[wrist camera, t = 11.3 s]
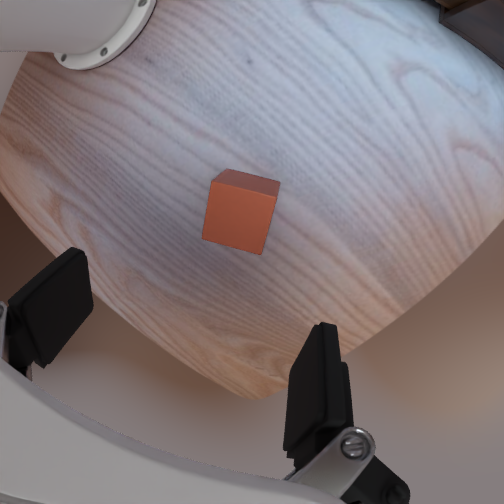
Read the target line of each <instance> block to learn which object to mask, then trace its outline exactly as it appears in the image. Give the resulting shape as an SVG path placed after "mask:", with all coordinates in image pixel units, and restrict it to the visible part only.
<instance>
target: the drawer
mask: <svg viewBox="0 0 504 504" xmlns="http://www.w3.org/2000/svg"><path fill="white" fill-rule="evenodd" d="M434 1H436V2H438V3H439V4H441V5H443V6H444V7H446V8H448V9H449V10H452V9H453V8H455V7H457V6H459V5H461V4H463V3H465V2H467V1H469V0H434Z"/></svg>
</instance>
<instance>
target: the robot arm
mask: <svg viewBox="0 0 504 504" xmlns="http://www.w3.org/2000/svg"><path fill="white" fill-rule="evenodd" d="M155 3H156V0H0V52H11V51H32V52H53V53H54V56H55V58H56V59H57V61H58V62H59V63H60V64H61V65H63V66H64V67H66V68H69V69H74V70H86V69H92V68H95V67H98V66H100V65H102V64H104V63H106V62H108V61H110V60H111V59H113V58H114V57H116V56H117V55H118V54H120V53H121V52H122V51H123V50H124V49H125V48H126V47H127V46H129V44H130V43H131V42H132V41H133V40H134V39H135V38H136V37H137V36H138V34H139V33H140V31H141V30H142V29H143V27H144V26H145V24H146V22H147V21H148V19H149V17H150V15H151V13H152V11H153V8H154V6H155ZM8 304H9V307H8V308H7V307H6V305H5V304H4V303H3V302H2V301H0V504H409V500H410V490H409V488H408V485H407V484H406V483H405V482H404V481H403V480H401V479H400V478H399V477H398V476H397V475H396V474H395V473H393V472H392V471H391V470H390V469H389V468H388V467H387V466H386V465H385V464H383V463H382V462H381V461H380V460H379V459H378V458H377V457H376V456H375V455H374V454H375V448H376V447H375V441H374V439H373V438H372V436H371V435H370V434H369V433H368V432H367V431H366V430H364V429H362V428H359V427H354V422H353V411H352V399H351V389H350V382H349V381H350V380H349V371H348V366H347V364H346V363H345V362H341V356H340V348H339V340H338V332H337V326H336V325H333V324H329V323H325V322H321V323H320V324H319V325H314V326H313V328H312V330H311V332H310V334H309V336H308V338H307V340H306V342H305V344H304V346H303V347H302V349H301V351H300V353H299V355H298V357H297V358H296V360H295V362H294V364H293V366H292V368H291V370H290V374H289V385H288V399H287V411H286V422H285V432H284V442H283V450H284V451H287V458H292V459H294V466H295V469H294V470H292V471H291V472H290V473H289V474H288V475H286V476H285V477H284V478H283V479H282V480H280V479H274V478H268V477H264V476H258V475H253V474H248V473H243V472H238V471H233V470H229V469H225V468H221V467H216V466H213V465H209V464H205V463H201V462H198V461H194V460H191V459H188V458H184V457H181V456H178V455H175V454H172V453H169V452H166V451H163V450H161V449H158V448H155V447H152V446H150V445H147V444H145V443H142V442H140V441H137V440H135V439H133V438H130V437H128V436H126V435H124V434H121V433H119V432H117V431H115V430H113V429H111V428H109V427H107V426H104V425H102V424H100V423H99V422H97V421H95V420H93V419H91V418H89V417H87V416H85V415H84V414H82V413H79V412H78V411H76V410H74V409H73V408H71V407H70V406H68V405H66V404H64V403H63V402H61V401H60V400H58V399H56V398H55V397H53V396H52V395H50V394H49V393H47V392H46V391H44V390H43V389H41V388H40V387H38V386H37V385H36V384H34V383H33V382H32V368H31V363H32V362H33V361H35V363H36V364H38V365H39V366H40V367H42V368H45V366H46V365H47V364H50V363H51V362H52V361H53V360H54V358H55V357H56V356H57V354H58V353H59V352H60V350H61V349H62V348H63V347H64V345H65V344H66V343H67V341H68V340H69V339H70V338H71V336H72V335H73V334H74V333H75V331H76V330H77V329H78V328H79V327H80V325H81V324H82V323H83V322H84V320H85V319H86V318H87V317H88V316H89V314H90V313H91V312H92V310H93V306H94V305H93V298H92V292H91V285H90V278H89V270H88V261H87V256H86V255H85V253H84V251H82V250H80V249H77V248H75V247H71V248H69V249H68V250H66V251H65V252H64V253H62V254H61V255H60V256H59V257H57V258H56V259H55V260H54V261H52V262H51V263H50V264H49V265H48V266H46V267H45V268H44V269H43V270H42V271H40V272H39V273H38V274H37V275H36V276H35V277H33V278H32V279H31V280H30V281H29V282H28V283H27V284H25V285H24V286H23V287H22V288H21V289H20V290H19V291H18V292H17V293H15V294H14V296H12V297H11V298H10V299H9V300H8Z"/></svg>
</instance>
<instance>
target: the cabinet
mask: <svg viewBox="0 0 504 504" xmlns="http://www.w3.org/2000/svg"><path fill="white" fill-rule="evenodd" d="M439 23H441V24H442V25H444V26H446V27H447V28H449V29H450V30H452V31H454V32H455V33H457V34H458V35H460V36H461V37H463V38H464V39H466V40H467V41H468V42H470V43H471V44H473V45H474V46H475V47H477V48H478V49H479V50H481V51H482V52H483V53H485V54H486V55H487V56H488V57H490V58H491V59H492V60H493V61H495V62H496V63H497V64H498V65H499V66H501V67H502V68H503V69H504V0H469V1H467V2H465V3H463V4H461V5H459V6H457V7H455V8H453V9H452V10H449V9H448V8H446V7H444V6H443V5H441V10H440V20H439Z"/></svg>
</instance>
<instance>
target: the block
mask: <svg viewBox="0 0 504 504" xmlns="http://www.w3.org/2000/svg"><path fill="white" fill-rule="evenodd" d="M279 186H280V182H278V181H275V180H271V179H267V178H263V177H259V176H256V175H252V174H248V173H244V172H240V171H235V170H231V169H226V170H224V171H223V172H222V173H221V174H220V175H218V176H217V177H216V178H215V179H213V180H212V182H211V187H210V192H209V198H208V204H207V209H206V215H205V221H204V227H203V233H202V239H204V240H207V241H211V242H214V243H218V244H222V245H225V246H229V247H233V248H236V249H240V250H244V251H247V252H251V253H255V254H258V255H261V254H262V250H263V247H264V243H265V239H266V236H267V232H268V229H269V225H270V222H271V218H272V214H273V211H274V207H275V204H276V200H277V196H278V191H279Z"/></svg>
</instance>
